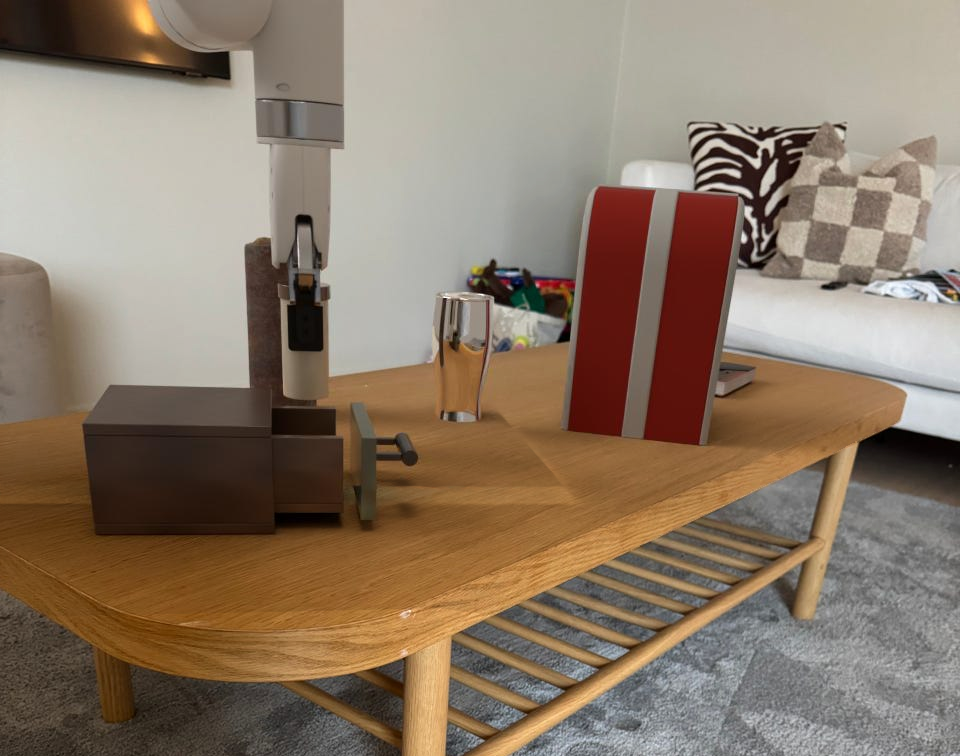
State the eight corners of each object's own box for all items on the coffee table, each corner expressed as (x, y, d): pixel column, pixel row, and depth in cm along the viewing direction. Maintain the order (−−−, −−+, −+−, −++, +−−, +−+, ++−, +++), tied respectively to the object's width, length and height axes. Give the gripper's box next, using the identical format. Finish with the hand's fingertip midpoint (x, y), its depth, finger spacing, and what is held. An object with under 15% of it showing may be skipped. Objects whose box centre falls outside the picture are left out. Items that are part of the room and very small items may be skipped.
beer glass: (418, 431, 111) (423, 294, 104) (442, 419, 117) (448, 289, 110) (473, 440, 109) (482, 301, 102) (495, 428, 114) (505, 295, 108)
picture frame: (753, 382, 152) (627, 362, 161) (756, 366, 151) (629, 347, 160) (722, 398, 139) (587, 375, 148) (725, 381, 138) (588, 359, 147)
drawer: (403, 475, 91) (405, 403, 88) (421, 519, 80) (425, 438, 77) (225, 474, 88) (221, 399, 85) (218, 520, 77) (213, 435, 74)
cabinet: (274, 482, 90) (271, 388, 86) (274, 534, 78) (271, 426, 74) (119, 482, 87) (109, 384, 83) (95, 535, 75) (81, 423, 71)
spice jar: (281, 400, 90) (277, 286, 86) (280, 389, 94) (277, 279, 90) (332, 401, 91) (331, 288, 87) (330, 390, 95) (329, 281, 91)
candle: (295, 439, 104) (291, 241, 95) (237, 429, 106) (227, 234, 97) (328, 424, 111) (327, 238, 102) (273, 415, 113) (267, 232, 104)
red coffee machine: (575, 402, 130) (598, 183, 118) (706, 416, 128) (743, 193, 116) (559, 429, 116) (584, 182, 104) (707, 446, 113) (750, 195, 101)
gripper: (257, 127, 89) (265, 330, 97) (254, 122, 75) (263, 361, 83) (338, 132, 91) (339, 332, 99) (351, 129, 76) (351, 363, 84)
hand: (305, 343), depth 91 cm, fingers closed on spice jar, 4 cm apart
